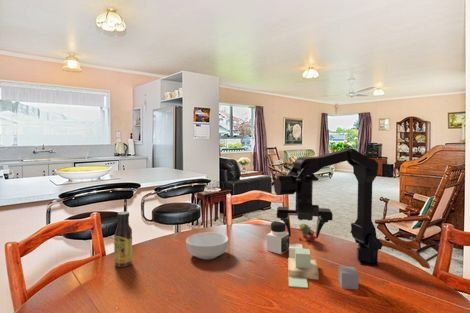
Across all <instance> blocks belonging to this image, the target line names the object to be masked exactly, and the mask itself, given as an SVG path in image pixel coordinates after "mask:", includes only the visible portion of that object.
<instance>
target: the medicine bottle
mask: <svg viewBox="0 0 470 313" xmlns="http://www.w3.org/2000/svg"><path fill="white" fill-rule="evenodd" d="M289 243H290V236H289V233H288V232H286V224H285V222H284V221H282V220H274V221H272V222H270V232H269V233H267V234H266V251H267V252H270V253H275V254H277V255H283V254H285V253H286V252H287V251H289Z"/></svg>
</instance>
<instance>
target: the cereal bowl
mask: <svg viewBox="0 0 470 313" xmlns="http://www.w3.org/2000/svg"><path fill="white" fill-rule="evenodd" d="M185 245H186V250H187V251H188V252H189V253H190V255H192V256H194V257H196V258H198V259H201V260H206V261H207V260H213V259H215V258H217V257H218V256H222V254H224V253H225V252H227V249H228V246H229V236H227V235H226V234H224V233H221V232H210V231H208V232H207V231H206V232H198V233H195V234H191V235H190V236H188V237H187V238H186V240H185Z"/></svg>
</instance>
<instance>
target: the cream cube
mask: <svg viewBox="0 0 470 313" xmlns="http://www.w3.org/2000/svg"><path fill="white" fill-rule="evenodd" d="M295 248H302V249H304V248H303V244H302V243H290V242H289V250H288V258H295Z"/></svg>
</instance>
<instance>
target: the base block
mask: <svg viewBox="0 0 470 313" xmlns="http://www.w3.org/2000/svg"><path fill="white" fill-rule="evenodd" d="M287 268H288V269H287V270H288V271H287V274H288V276H287V277H300V278H307V280H308V279H309V280H317V281H318V280H319V275H320V274H319V268H318V264H317V260H316V259H311V263H310V268H296V266H295V258H289V257H288V258H287Z"/></svg>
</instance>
